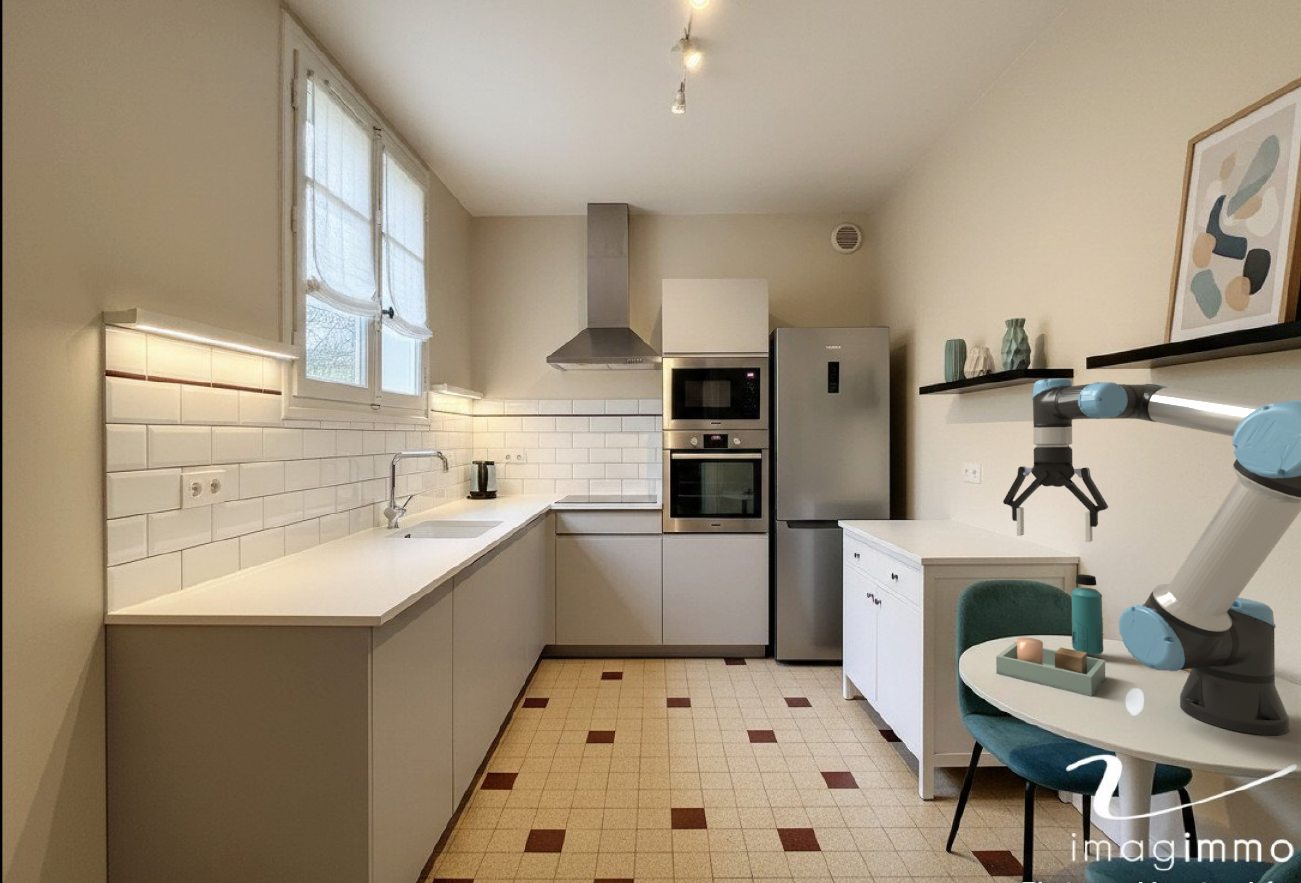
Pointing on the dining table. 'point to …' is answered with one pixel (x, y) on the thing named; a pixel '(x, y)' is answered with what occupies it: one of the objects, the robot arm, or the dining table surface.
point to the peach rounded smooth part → (1030, 650)
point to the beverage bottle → (1087, 617)
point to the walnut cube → (1071, 660)
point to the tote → (1051, 671)
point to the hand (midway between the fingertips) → (1053, 538)
